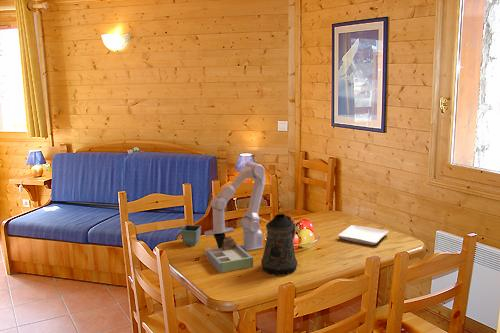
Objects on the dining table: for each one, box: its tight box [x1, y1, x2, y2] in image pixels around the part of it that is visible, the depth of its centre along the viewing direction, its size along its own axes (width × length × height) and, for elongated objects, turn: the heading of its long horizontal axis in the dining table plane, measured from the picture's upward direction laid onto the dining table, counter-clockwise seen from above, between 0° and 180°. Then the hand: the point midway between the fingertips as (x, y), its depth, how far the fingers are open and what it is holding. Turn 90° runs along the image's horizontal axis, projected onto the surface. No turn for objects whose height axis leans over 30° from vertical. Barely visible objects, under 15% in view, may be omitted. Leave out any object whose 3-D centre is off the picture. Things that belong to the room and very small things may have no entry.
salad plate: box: [337, 224, 389, 246], centre depth 261 cm, size 21×21×3 cm
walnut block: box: [221, 236, 235, 250], centre depth 242 cm, size 5×5×5 cm
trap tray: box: [204, 241, 254, 274], centre depth 234 cm, size 16×25×4 cm, turn 23°
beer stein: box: [260, 213, 298, 277], centre depth 222 cm, size 16×19×25 cm
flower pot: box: [179, 224, 202, 247], centre depth 255 cm, size 9×9×9 cm
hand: (219, 247), depth 241 cm, fingers closed
